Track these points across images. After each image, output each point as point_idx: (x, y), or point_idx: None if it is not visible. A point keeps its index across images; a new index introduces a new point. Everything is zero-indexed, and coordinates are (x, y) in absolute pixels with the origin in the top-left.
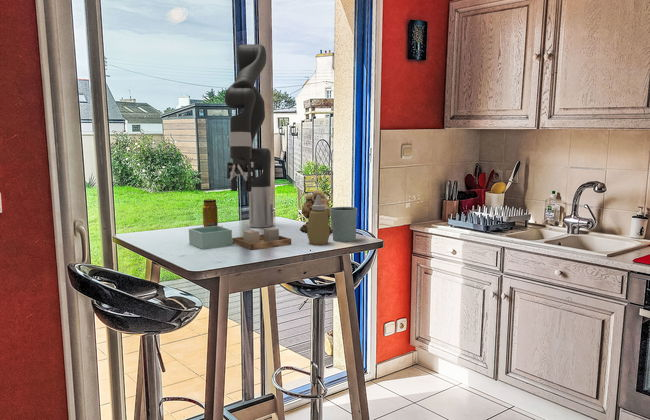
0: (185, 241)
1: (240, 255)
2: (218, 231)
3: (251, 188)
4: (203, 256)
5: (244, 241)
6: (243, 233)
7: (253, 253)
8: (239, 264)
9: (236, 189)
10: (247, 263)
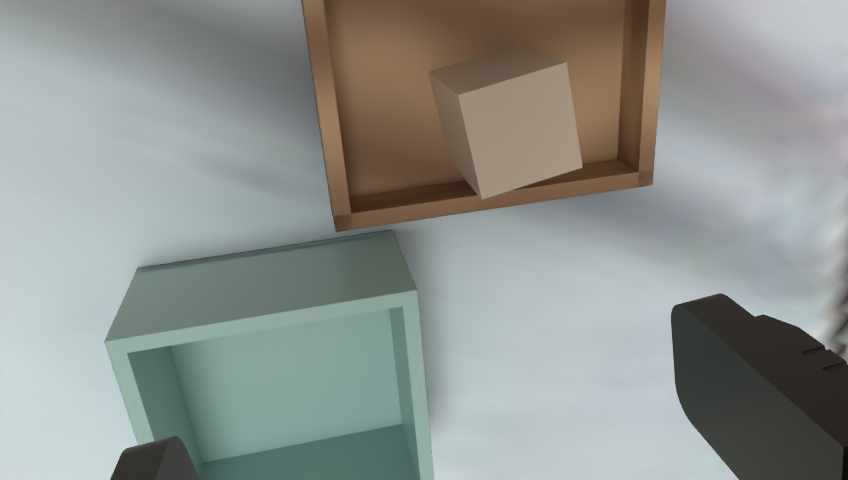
0: (13, 470)
1: (662, 260)
2: (422, 397)
3: (798, 330)
4: (554, 439)
5: (529, 192)
6: (476, 192)
7: (668, 171)
8: (827, 324)
9: (176, 470)
10: (840, 284)
